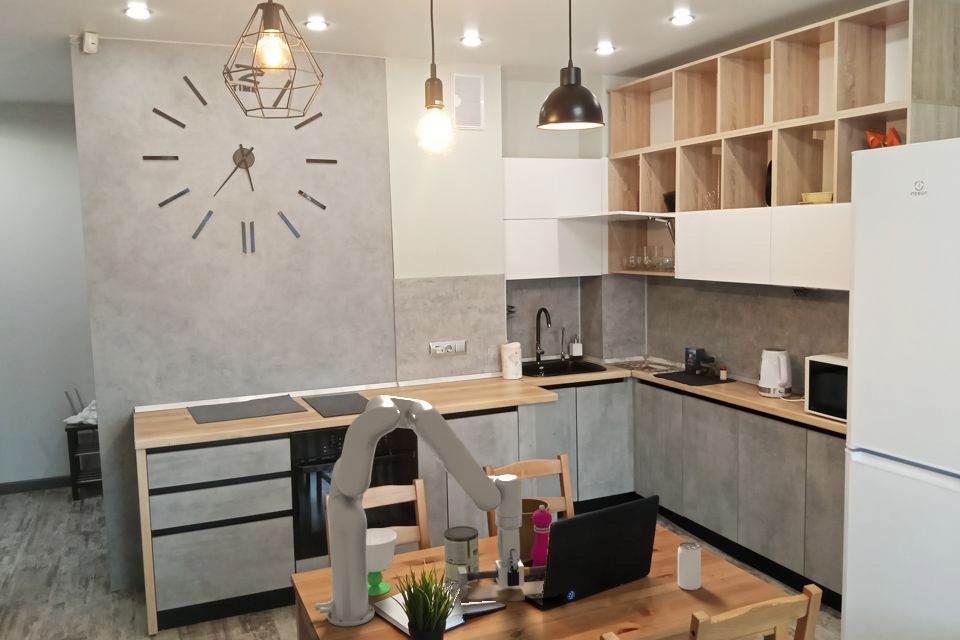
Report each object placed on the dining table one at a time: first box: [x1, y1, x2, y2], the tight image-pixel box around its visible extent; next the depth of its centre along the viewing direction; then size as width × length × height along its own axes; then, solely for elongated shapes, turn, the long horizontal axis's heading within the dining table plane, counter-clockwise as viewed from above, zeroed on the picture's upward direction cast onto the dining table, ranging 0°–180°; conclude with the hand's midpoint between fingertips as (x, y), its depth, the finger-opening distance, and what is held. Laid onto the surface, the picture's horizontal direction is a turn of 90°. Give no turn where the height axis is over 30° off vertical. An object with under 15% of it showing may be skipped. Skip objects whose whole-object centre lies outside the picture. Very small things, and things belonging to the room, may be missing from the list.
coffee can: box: [443, 525, 480, 585], centre depth 239 cm, size 10×10×14 cm
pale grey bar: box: [457, 566, 546, 604], centre depth 226 cm, size 28×8×8 cm, turn 100°
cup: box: [366, 527, 398, 597], centre depth 232 cm, size 14×14×16 cm
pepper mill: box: [530, 505, 553, 567], centre depth 244 cm, size 7×7×20 cm
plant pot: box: [519, 497, 550, 559], centre depth 256 cm, size 15×15×16 cm
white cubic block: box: [494, 559, 525, 588], centre depth 226 cm, size 7×6×6 cm
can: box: [677, 541, 702, 591], centre depth 230 cm, size 6×6×12 cm
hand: (509, 578), depth 226 cm, fingers open, 9 cm apart
